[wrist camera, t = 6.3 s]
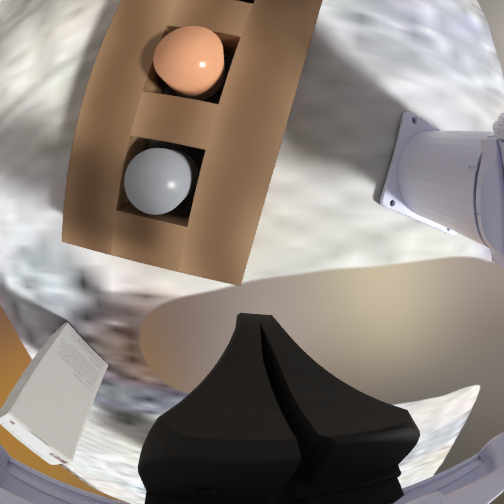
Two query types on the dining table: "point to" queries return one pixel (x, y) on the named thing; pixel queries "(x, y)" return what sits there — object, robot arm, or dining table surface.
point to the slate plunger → (160, 179)
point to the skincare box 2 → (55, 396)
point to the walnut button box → (186, 133)
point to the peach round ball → (191, 62)
